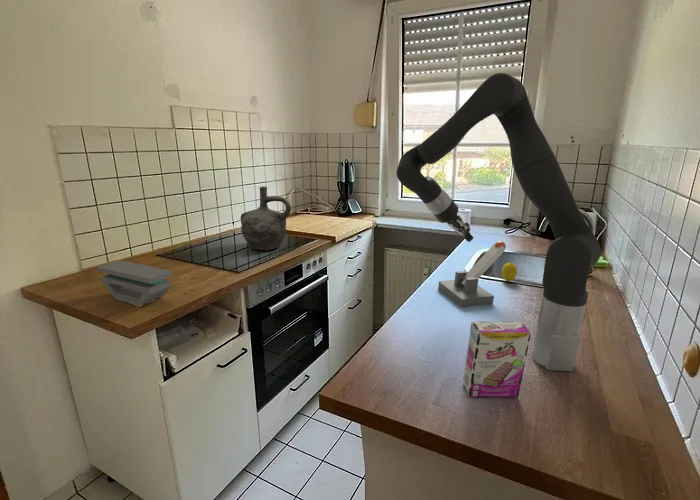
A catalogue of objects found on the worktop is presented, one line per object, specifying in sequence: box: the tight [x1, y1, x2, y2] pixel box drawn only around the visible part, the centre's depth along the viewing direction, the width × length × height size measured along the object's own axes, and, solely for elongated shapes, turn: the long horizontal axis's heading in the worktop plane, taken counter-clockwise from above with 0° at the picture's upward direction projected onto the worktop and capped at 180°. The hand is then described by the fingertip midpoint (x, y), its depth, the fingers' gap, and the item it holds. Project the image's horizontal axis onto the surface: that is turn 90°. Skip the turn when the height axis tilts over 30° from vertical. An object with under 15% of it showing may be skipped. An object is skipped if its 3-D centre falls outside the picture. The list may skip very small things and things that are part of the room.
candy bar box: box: [462, 321, 532, 399], centre depth 81 cm, size 11×5×16 cm, turn 92°
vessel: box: [240, 186, 292, 251], centre depth 180 cm, size 24×22×30 cm
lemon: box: [501, 261, 518, 282], centre depth 145 cm, size 6×6×8 cm
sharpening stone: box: [96, 259, 173, 306], centre depth 125 cm, size 25×8×11 cm, turn 66°
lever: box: [460, 240, 507, 286], centre depth 130 cm, size 4×4×20 cm
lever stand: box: [437, 270, 495, 308], centre depth 131 cm, size 16×12×8 cm
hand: (470, 239), depth 126 cm, fingers closed
